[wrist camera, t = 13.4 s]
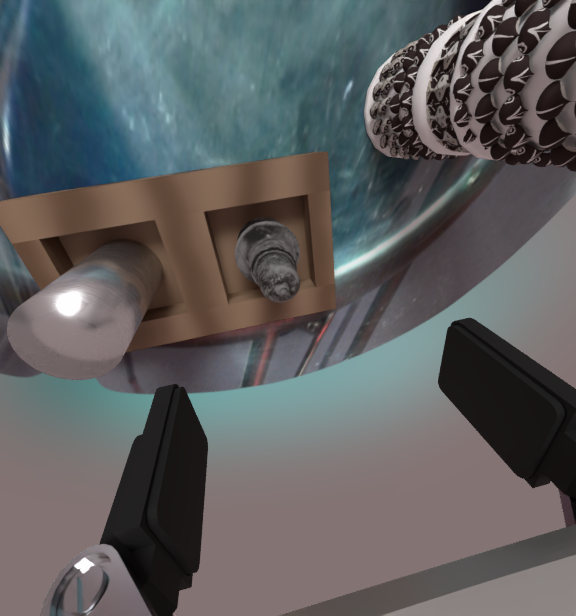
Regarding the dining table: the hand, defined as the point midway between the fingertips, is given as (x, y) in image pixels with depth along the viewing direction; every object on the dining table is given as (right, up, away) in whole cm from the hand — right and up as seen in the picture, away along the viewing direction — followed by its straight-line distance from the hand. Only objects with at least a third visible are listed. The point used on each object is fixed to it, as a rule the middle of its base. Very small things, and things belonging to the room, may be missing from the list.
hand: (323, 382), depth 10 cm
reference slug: (-16, +6, +17) cm, 25 cm away
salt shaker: (-4, +9, +19) cm, 21 cm away
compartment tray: (-10, +8, +19) cm, 23 cm away
